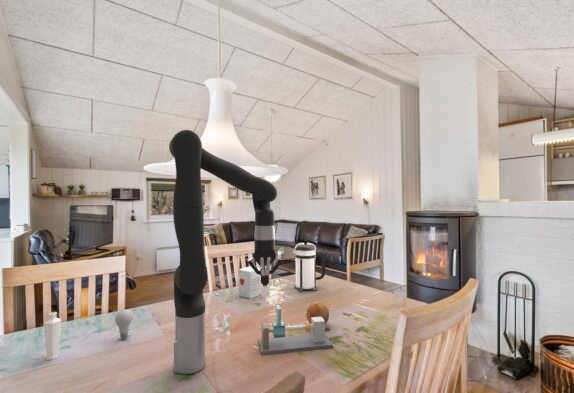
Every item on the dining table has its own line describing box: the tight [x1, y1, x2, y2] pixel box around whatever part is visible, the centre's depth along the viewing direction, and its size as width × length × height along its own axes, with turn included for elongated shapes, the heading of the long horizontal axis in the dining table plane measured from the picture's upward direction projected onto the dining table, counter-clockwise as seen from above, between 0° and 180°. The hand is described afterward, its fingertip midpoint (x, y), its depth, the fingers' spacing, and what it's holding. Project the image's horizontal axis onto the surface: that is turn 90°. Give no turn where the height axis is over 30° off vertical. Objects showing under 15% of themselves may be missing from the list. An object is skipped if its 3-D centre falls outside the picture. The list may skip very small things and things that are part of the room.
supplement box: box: [238, 266, 262, 300], centre depth 166 cm, size 9×9×15 cm
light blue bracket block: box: [272, 304, 286, 338], centre depth 108 cm, size 4×4×10 cm
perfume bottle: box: [43, 311, 62, 361], centre depth 101 cm, size 5×4×15 cm
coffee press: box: [292, 238, 326, 293], centre depth 179 cm, size 17×16×30 cm
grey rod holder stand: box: [258, 317, 334, 355], centre depth 109 cm, size 26×10×8 cm, turn 101°
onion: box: [305, 300, 330, 325], centre depth 126 cm, size 10×10×10 cm
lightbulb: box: [114, 309, 134, 340], centre depth 114 cm, size 6×6×11 cm
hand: (264, 285), depth 108 cm, fingers closed
